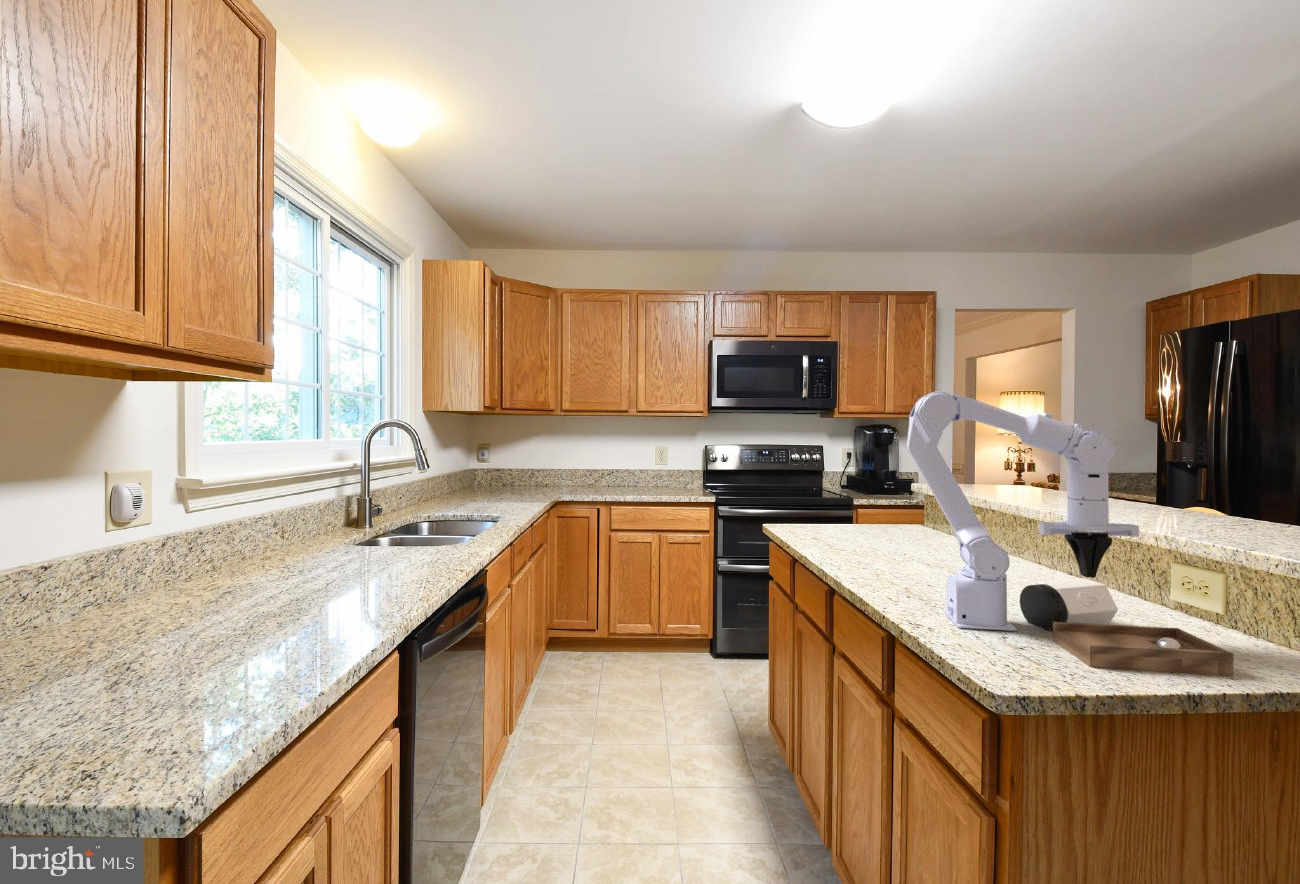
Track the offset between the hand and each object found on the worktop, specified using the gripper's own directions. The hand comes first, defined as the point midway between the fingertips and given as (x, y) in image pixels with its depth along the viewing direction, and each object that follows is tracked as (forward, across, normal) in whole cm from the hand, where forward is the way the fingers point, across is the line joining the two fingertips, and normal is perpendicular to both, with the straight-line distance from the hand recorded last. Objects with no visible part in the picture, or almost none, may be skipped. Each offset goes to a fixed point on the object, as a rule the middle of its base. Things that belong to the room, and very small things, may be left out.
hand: (1088, 576), depth 98 cm
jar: (+6, +4, +6) cm, 9 cm away
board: (+10, +1, -11) cm, 15 cm away
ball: (+8, +6, -11) cm, 15 cm away
